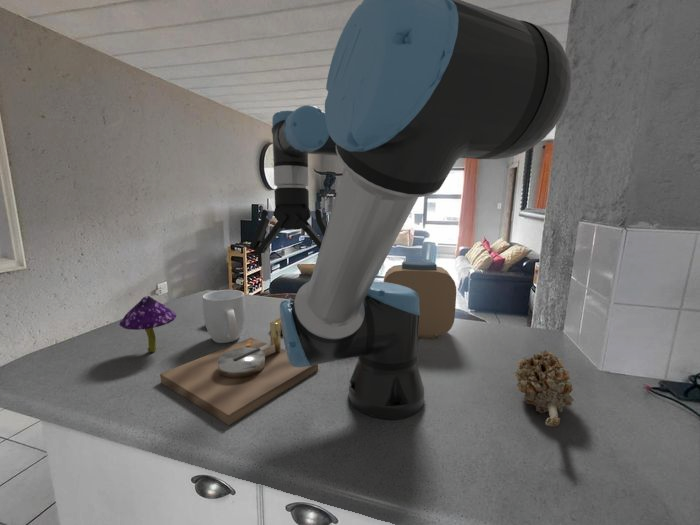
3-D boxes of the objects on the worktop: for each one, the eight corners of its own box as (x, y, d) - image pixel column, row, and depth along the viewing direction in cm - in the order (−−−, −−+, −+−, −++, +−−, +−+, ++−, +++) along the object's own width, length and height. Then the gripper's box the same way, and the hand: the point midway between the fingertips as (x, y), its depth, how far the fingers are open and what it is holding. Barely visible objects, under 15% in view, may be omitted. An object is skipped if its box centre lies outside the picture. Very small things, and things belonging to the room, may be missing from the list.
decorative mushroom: (129, 346, 89) (122, 292, 86) (180, 339, 94) (176, 287, 91) (117, 367, 78) (110, 305, 75) (177, 357, 83) (172, 300, 80)
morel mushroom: (508, 380, 73) (512, 338, 72) (557, 389, 70) (563, 345, 69) (526, 449, 53) (532, 393, 51) (597, 465, 50) (606, 405, 48)
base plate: (318, 370, 77) (318, 360, 77) (229, 425, 58) (228, 413, 57) (251, 344, 91) (250, 336, 90) (161, 382, 71) (160, 372, 71)
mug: (255, 346, 90) (253, 299, 88) (212, 356, 84) (209, 306, 82) (240, 328, 102) (238, 287, 100) (202, 336, 96) (198, 292, 94)
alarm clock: (448, 328, 104) (452, 261, 100) (453, 341, 94) (458, 266, 91) (382, 324, 106) (384, 258, 103) (380, 336, 97) (382, 264, 93)
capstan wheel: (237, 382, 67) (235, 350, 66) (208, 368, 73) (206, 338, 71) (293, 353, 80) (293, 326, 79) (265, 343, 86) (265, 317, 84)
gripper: (349, 188, 75) (349, 279, 79) (246, 189, 79) (250, 276, 82) (343, 185, 68) (344, 286, 71) (230, 187, 72) (236, 282, 75)
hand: (294, 281), depth 77 cm, fingers open, 13 cm apart
